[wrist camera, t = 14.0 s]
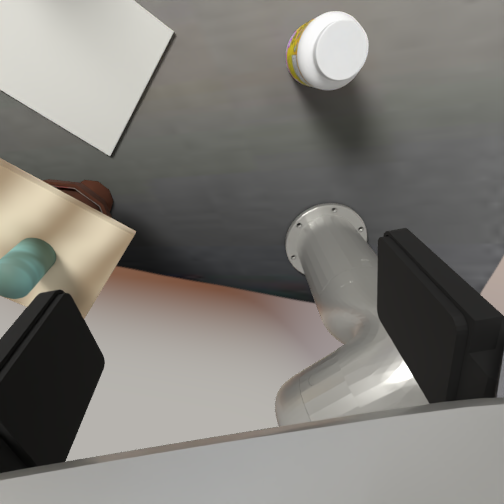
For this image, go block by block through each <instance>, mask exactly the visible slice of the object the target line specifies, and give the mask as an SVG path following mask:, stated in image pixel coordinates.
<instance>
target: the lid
mask: <svg viewBox="0 0 504 504" xmlns="http://www.w3.org/2000/svg"><path fill="white" fill-rule="evenodd" d="M135 233H136V231H135V230H133V229H131V228H129V227H127V226H125V225H123V224H122V223H120V222H118V221H116V220H114V219H112V218H110V217H109V216H107V215H105V214H103V213H101V212H99V211H97V210H96V209H94V208H92V207H90V206H88V205H86V204H84V203H83V202H81V201H79V200H77V199H75V198H73V197H71V196H69V195H68V194H66V193H64V192H62V191H60V190H58V189H56V188H55V187H53V186H51V185H49V184H47V183H45V182H43V181H42V180H40V179H38V178H36V177H34V176H32V175H30V174H29V173H27V172H25V171H23V170H21V169H19V168H17V167H16V166H14V165H12V164H10V163H8V162H6V161H4V160H3V159H1V158H0V296H2V297H5V298H7V299H9V300H12V301H14V302H17V303H19V304H21V305H24V306H26V307H28V306H29V304H30V303H31V302H32V301H33V300H34V298H35V297H36V296H37V295H38V294H39V293H42V292H48V291H54V290H59V289H60V290H63V291H64V292H65V293H69V294H70V295H71V296H72V298H73V300H74V302H75V303H76V305H77V307H78V309H79V311H80V313H81V315H82V317H83V319H84V318H85V316H86V315H87V313H88V312H89V310H90V308H91V307H92V305H93V303H94V302H95V300H96V298H97V297H98V295H99V293H100V292H101V290H102V288H103V287H104V285H105V283H106V282H107V280H108V278H109V277H110V275H111V273H112V272H113V270H114V268H115V267H116V265H117V263H118V262H119V260H120V258H121V257H122V255H123V253H124V252H125V250H126V248H127V247H128V245H129V243H130V242H131V240H132V238H133V237H134V235H135Z"/></svg>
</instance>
